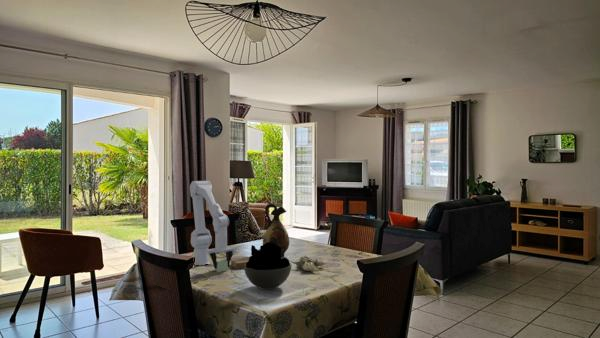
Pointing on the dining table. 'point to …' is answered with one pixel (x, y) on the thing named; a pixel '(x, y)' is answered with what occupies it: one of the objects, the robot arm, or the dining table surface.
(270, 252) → the coal bowl
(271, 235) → the ceramic jug
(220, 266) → the cube
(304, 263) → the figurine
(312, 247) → the dining table surface
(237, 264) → the base block
